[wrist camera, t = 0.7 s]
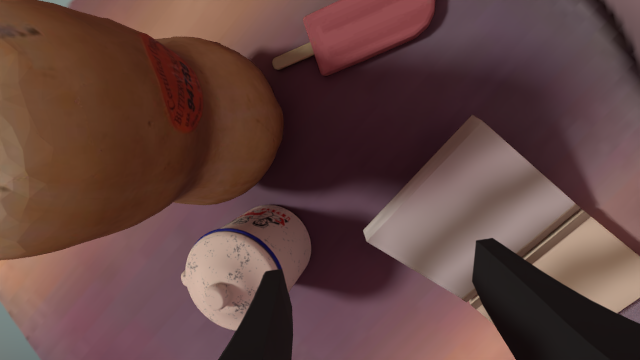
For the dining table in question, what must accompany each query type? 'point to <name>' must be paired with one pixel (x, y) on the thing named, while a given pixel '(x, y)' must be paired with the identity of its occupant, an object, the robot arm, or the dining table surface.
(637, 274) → the laid board
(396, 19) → the popsicle
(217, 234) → the teacup with lid
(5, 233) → the butternut squash
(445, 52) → the dining table surface
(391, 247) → the beige flat square block
